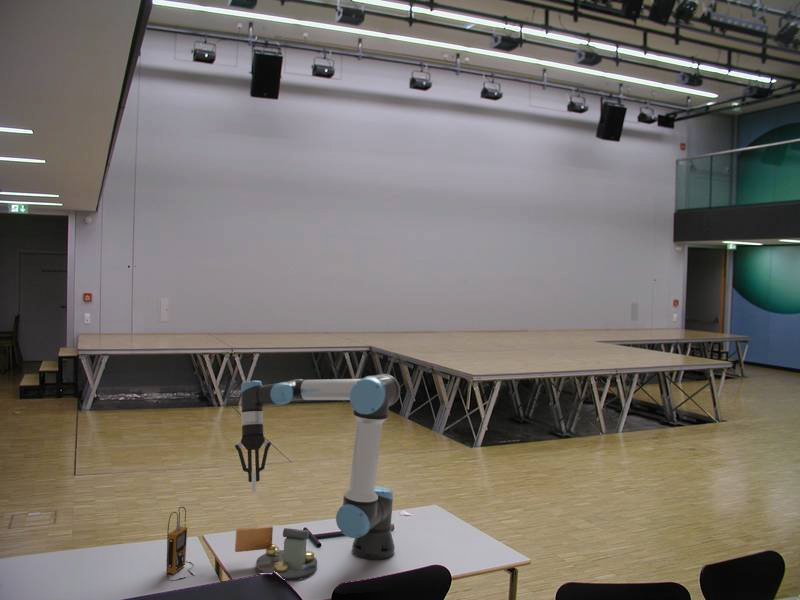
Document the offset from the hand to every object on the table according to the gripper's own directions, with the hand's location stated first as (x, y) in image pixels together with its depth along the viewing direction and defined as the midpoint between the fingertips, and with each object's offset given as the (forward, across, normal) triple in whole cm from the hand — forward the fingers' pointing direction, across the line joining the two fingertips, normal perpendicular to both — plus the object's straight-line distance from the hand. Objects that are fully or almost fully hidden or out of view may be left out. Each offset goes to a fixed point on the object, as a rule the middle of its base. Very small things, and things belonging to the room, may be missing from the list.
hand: (254, 491), depth 249 cm
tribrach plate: (+25, -10, +13) cm, 30 cm away
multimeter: (+23, +21, +16) cm, 35 cm away
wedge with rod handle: (+24, -13, +16) cm, 31 cm away
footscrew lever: (+21, -1, +10) cm, 23 cm away
